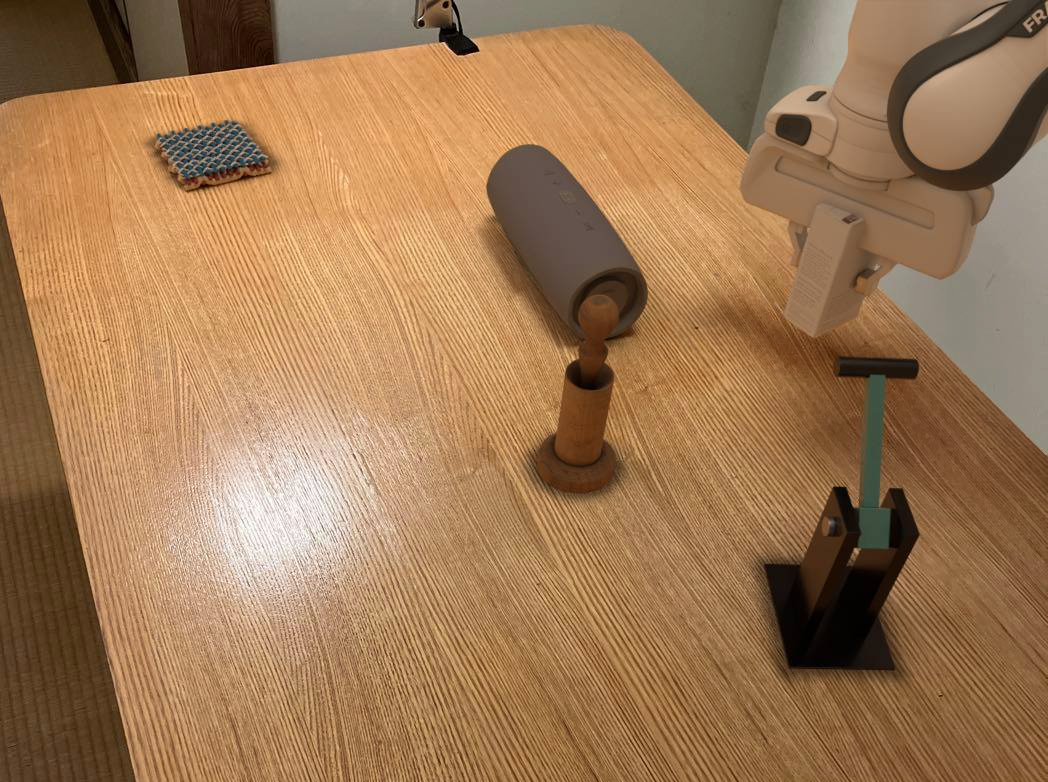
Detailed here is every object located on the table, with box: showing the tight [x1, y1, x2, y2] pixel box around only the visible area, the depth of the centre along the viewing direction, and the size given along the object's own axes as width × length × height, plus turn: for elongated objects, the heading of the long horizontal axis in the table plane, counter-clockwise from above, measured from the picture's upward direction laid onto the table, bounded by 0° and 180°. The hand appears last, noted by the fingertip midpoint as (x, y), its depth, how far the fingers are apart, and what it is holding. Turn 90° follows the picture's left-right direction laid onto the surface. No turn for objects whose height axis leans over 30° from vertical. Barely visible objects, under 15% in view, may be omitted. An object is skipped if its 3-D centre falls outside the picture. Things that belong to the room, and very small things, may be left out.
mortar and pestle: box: [536, 295, 619, 494], centre depth 85 cm, size 7×6×18 cm
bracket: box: [763, 485, 921, 671], centre depth 78 cm, size 10×8×13 cm
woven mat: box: [154, 119, 273, 192], centre depth 121 cm, size 10×11×2 cm
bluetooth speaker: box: [486, 143, 649, 340], centre depth 107 cm, size 23×9×10 cm, turn 20°
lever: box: [832, 355, 920, 550], centre depth 74 cm, size 13×6×2 cm
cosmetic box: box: [782, 203, 879, 339], centre depth 96 cm, size 6×4×12 cm
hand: (831, 278), depth 97 cm, fingers closed on cosmetic box, 5 cm apart
